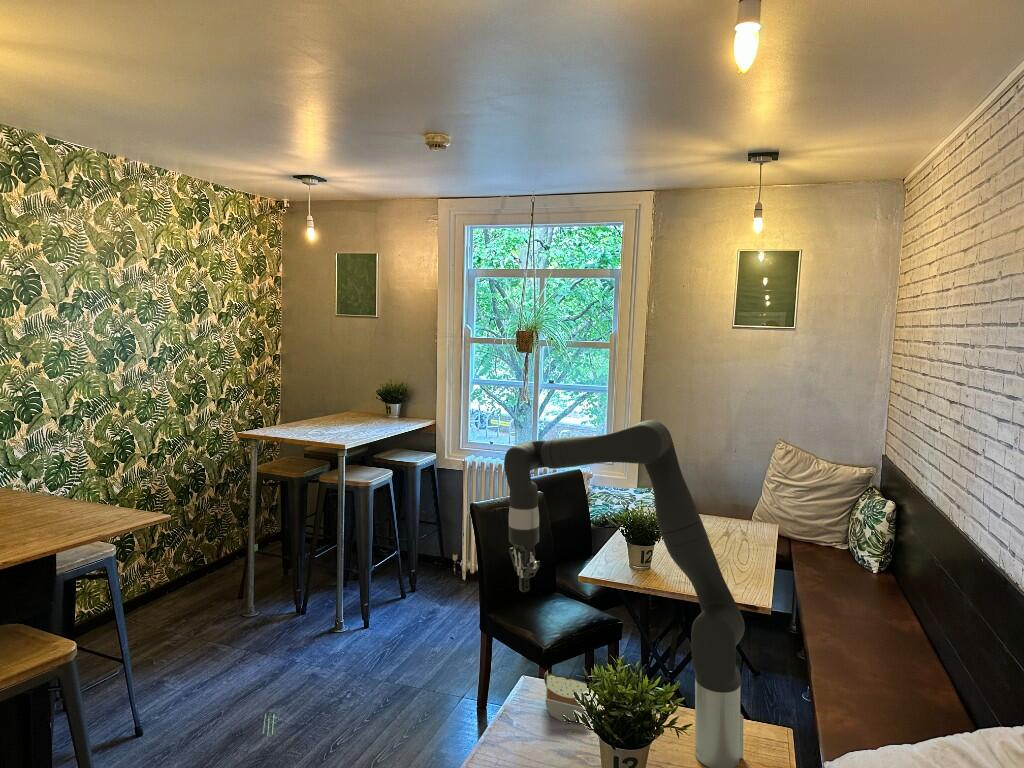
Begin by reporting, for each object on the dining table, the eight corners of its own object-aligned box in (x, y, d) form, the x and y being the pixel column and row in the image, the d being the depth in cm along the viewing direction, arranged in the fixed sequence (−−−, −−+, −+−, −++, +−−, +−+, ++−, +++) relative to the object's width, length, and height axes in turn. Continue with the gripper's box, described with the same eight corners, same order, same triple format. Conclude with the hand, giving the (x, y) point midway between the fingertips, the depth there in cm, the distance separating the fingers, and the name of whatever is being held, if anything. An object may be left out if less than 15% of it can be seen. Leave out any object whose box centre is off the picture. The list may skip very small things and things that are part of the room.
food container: (587, 731, 155) (590, 701, 164) (591, 710, 153) (594, 681, 162) (536, 718, 156) (542, 689, 166) (539, 697, 155) (545, 669, 164)
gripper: (550, 528, 157) (550, 598, 159) (525, 513, 169) (525, 578, 171) (522, 533, 154) (522, 604, 156) (499, 518, 166) (499, 583, 168)
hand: (524, 590), depth 163 cm, fingers closed
